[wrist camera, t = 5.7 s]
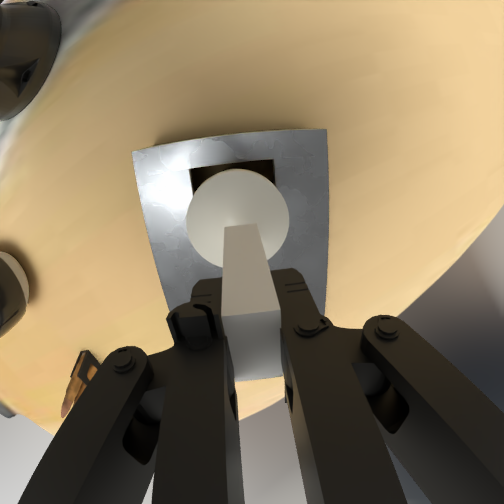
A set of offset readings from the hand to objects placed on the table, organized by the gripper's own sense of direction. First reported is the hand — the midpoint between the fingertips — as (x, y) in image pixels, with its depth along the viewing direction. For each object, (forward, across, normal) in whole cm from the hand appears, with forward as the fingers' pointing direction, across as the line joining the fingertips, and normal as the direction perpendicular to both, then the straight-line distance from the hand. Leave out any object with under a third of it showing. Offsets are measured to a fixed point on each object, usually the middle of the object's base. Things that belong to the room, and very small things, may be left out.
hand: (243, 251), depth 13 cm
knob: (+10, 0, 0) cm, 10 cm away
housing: (+14, 0, -6) cm, 15 cm away
